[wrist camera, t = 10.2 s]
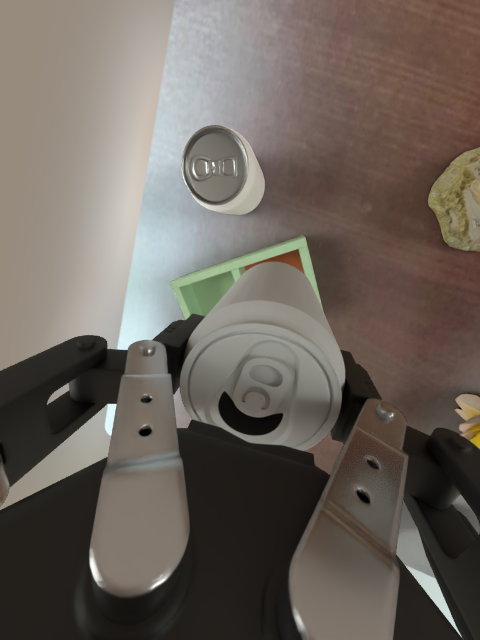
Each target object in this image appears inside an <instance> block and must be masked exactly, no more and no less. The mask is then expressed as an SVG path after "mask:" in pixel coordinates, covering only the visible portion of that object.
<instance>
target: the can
mask: <svg viewBox="0 0 480 640" xmlns="http://www.w3.org/2000/svg"><path fill="white" fill-rule="evenodd" d="M182 174H183V178H184V181H185V184H186V186H187V188H188V189H189V191H190V193H191V194H192V196H193V197H194V199H195V200H196V201H197V202H198V203H200V204H201V205H202V206H204V207H205V208H207V209H210V210H213V211H216V212H222V213H227V214H233V215H243V214H247V213H249V212H251V211H252V210H254V209H255V208H256V207H257V206H258V205H259V203H260V202H261V200H262V197H263V195H264V190H265V180H264V176H263V173H262V170H261V168H260V165H259V163H258V161H257V159H256V157H255V154H254V152H253V150H252V148H251V147H250V145H249V143H248V142H247V140H246V139H245V138H244V137H243V136H242V135H241V134H240V133H238V132H237V131H235V130H233V129H231V128H228V127H223V126H218V125H212V126H207V127H204V128H202V129H200V130H199V131H197V132H196V133H195V134H194V135H193V136H192V137H191V138H190V139H189V141H188V143H187V144H186V147H185V149H184V152H183V156H182Z"/></svg>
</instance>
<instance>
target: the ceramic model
mask: <svg viewBox="0 0 480 640" xmlns="http://www.w3.org/2000/svg"><path fill="white" fill-rule="evenodd" d="M428 204H429V207H430V208H431V209H432V210H433V211H434V212H435V214H436V217H437V219H438V221H439V223H440V227H441V231H442V235H443V239H444V241H445V242H446V243H447V244H448V245H449V246H450V247H453V248H457V249H461V250H464V251H479V252H480V147H479V148H476V149H473V150H470V151H467V152H464V153H463V154H461V155H460V156H458V157H457V158H456V159H455V160H454V161H452V162H451V164H450V165H449V167H448V168H446V170H445V171H444V173H443V174H442V175H441V176H440V177H439V178H438V179H437V181H436V182H435V183H434V185H433V186H432V188H431V191H430V194H429V197H428Z"/></svg>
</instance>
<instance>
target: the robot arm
mask: <svg viewBox="0 0 480 640" xmlns="http://www.w3.org/2000/svg"><path fill="white" fill-rule="evenodd" d="M205 317H206V316H202V315H198V314H194V313H192V314H191V315H190V316H189V317H188V318H187V319H186V320H185V321H184V320H178V321H175V322H172V323H171V324H170V325H169V326H168V327H167V328H165V329H164V331H162V332H161V333H160V334H159V335H157V336H156V337H155V338H154V339H153V340H142V341H137V342H135V343H133V344H131V345H130V346H129V348H128V350H115V349H107V341H106V340H105V339H104V338H102V337H100V336H94V335H84V336H78V337H75V338H72V339H70V340H68V341H65V342H63V343H61V344H59V345H57V346H54V347H52V348H50V349H48V350H45V351H43V352H41V353H39V354H37V355H35V356H33V357H30V358H28V359H26V360H24V361H21V362H19V363H17V364H15V365H13V366H10V367H8V368H6V369H4V370H2V371H0V507H1V505H2V504H3V503H4V501H5V500H6V498H7V496H8V493H9V489H10V487H11V486H12V485H13V484H15V483H16V482H17V481H18V480H19V479H20V478H22V477H23V476H24V475H25V474H26V473H27V472H29V471H30V470H31V469H32V468H33V467H34V466H36V465H37V464H38V463H39V462H40V461H42V460H43V459H44V458H45V457H46V456H47V455H48V454H50V453H51V452H52V451H53V450H54V449H56V448H57V447H58V446H59V445H60V444H61V443H63V442H64V441H65V440H66V439H67V438H68V437H69V436H71V435H72V434H73V433H74V432H75V431H77V430H78V429H79V428H80V427H81V426H82V425H84V424H85V423H86V422H87V421H88V420H89V419H91V418H92V417H93V416H94V415H95V414H96V413H98V412H99V411H100V410H101V409H102V408H103V407H105V405H106V404H117V406H116V412H115V418H114V423H113V429H112V435H111V442H110V447H109V453H108V457H106V458H104V459H102V460H101V461H98V462H96V463H94V464H92V465H90V466H88V467H87V468H84V469H82V470H80V471H78V472H76V473H74V474H72V475H70V476H68V477H66V478H64V479H62V480H60V481H58V482H56V483H54V484H52V485H50V486H48V487H46V488H44V489H42V490H40V491H38V492H36V493H34V494H32V495H30V496H28V497H26V498H24V499H22V500H20V501H18V502H16V503H14V504H12V505H10V506H8V507H6V508H4V509H2V510H0V640H463V639H462V637H461V636H460V635H459V634H458V632H457V631H456V630H455V629H454V627H453V626H452V625H451V623H450V622H449V621H448V620H447V618H446V617H445V616H444V615H443V613H442V612H441V611H440V610H439V608H438V607H437V606H436V605H435V603H434V602H433V601H432V599H431V598H430V597H429V596H428V595H427V593H426V592H425V590H424V589H423V588H422V587H421V585H420V584H419V583H418V582H417V580H416V579H415V578H414V576H413V575H412V574H411V573H410V571H409V570H408V569H407V568H406V566H405V565H404V564H403V562H402V561H401V560H400V559H399V557H398V556H397V555H396V549H397V542H398V534H399V526H400V519H401V511H402V504H403V500H404V502H405V504H406V506H407V508H408V510H409V512H410V514H411V516H412V518H413V520H414V522H415V524H416V526H417V528H418V530H419V532H420V534H421V536H422V538H423V540H424V542H425V544H426V546H427V548H428V550H429V551H430V553H431V555H432V557H433V559H434V561H435V563H436V565H437V567H438V569H439V571H440V573H441V575H442V577H443V579H444V581H445V583H446V585H447V587H448V589H449V591H450V593H451V595H452V597H453V599H454V601H455V603H456V605H457V607H458V609H459V611H460V613H461V615H462V617H463V618H464V620H465V622H466V624H467V626H468V628H469V630H470V632H471V634H472V636H473V638H474V640H480V534H479V536H478V537H477V538H476V539H475V538H474V536H473V535H472V533H471V532H470V530H469V529H468V527H467V526H466V524H465V523H464V521H463V520H462V518H461V517H460V515H459V514H458V512H457V511H456V509H455V508H454V506H453V505H452V503H453V502H454V501H455V499H456V498H457V497H458V496H459V495H460V494H461V495H462V496H463V498H464V499H465V500H466V502H467V503H468V505H469V506H470V507H471V509H472V510H473V511H474V513H475V514H476V516H477V518H478V520H479V524H480V449H479V448H478V447H477V446H476V445H474V444H473V443H472V442H471V441H469V440H468V439H466V438H465V437H463V436H462V435H460V434H458V433H456V432H454V431H451V430H448V429H445V428H436V429H435V430H434V431H433V433H432V434H431V436H428V435H426V434H424V433H422V432H420V431H418V430H415V429H413V428H411V427H409V426H407V420H406V418H405V416H404V415H403V414H402V412H401V411H399V410H398V409H397V408H396V407H394V406H393V405H391V404H389V403H387V402H385V401H383V400H382V398H381V397H380V395H379V393H378V391H377V389H376V387H375V386H374V384H373V382H372V380H370V379H371V378H370V376H369V375H368V373H367V371H366V370H365V369H364V368H362V367H361V366H360V365H359V364H356V363H355V361H354V359H353V357H352V355H351V353H350V352H347V351H343V350H340V352H341V354H342V357H343V361H344V366H345V385H344V390H343V393H342V401H341V409H340V413H339V416H338V419H337V421H336V423H335V425H334V427H333V428H332V430H331V431H330V432H331V436H332V439H333V440H337V441H340V442H343V444H344V446H343V448H342V450H341V452H340V454H339V456H338V458H337V460H336V462H335V464H334V466H333V468H332V470H331V473H330V475H329V474H327V473H326V472H325V471H323V470H321V469H320V468H318V467H316V466H315V464H314V455H313V454H312V453H308V452H305V451H301V450H298V449H294V448H291V447H287V446H284V445H272V444H256V443H249V442H247V441H245V440H243V439H241V438H240V437H238V436H236V435H234V434H232V433H230V432H228V431H226V430H225V429H223V428H221V427H218V426H214V425H211V424H207V423H204V422H200V421H197V420H193V419H192V420H191V422H190V424H189V426H188V428H177V426H176V417H175V408H174V399H173V394H175V392H176V391H177V389H178V388H179V386H180V375H181V370H182V367H183V359H184V352H185V348H186V345H187V342H188V340H189V338H190V336H191V334H192V333H193V331H194V330H195V328H196V327H197V326H198V325H199V324H200V322H201V321H202V320H203V319H204V318H205ZM67 383H69V391H68V392H66V393H65V394H63V395H62V396H60V397H59V398H57V399H56V400H54V401H53V402H51V403H49V404H48V405H47V401H48V399H49V397H50V396H51V395H52V393H54V392H55V391H56V390H58V389H59V388H61V387H62V386H64V385H66V384H67Z"/></svg>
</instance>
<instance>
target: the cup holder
mask: <svg viewBox="0 0 480 640" xmlns="http://www.w3.org/2000/svg"><path fill="white" fill-rule="evenodd" d="M265 262H281V263H286V264H289V265H291V266H293V267H295V268H297V269H298V270H300V271H301V272H302V273H303V274H304V275H305V276H306V277H307V278H308V280H309V281H310V283H311V285H312V287H313V289H314V291H315V294H316V296H317V298H318V301H319V303H320V305H321V308H322V304H321V300H320V295H319V291H318V287H317V283H316V279H315V275H314V271H313V267H312V262H311V258H310V254H309V250H308V246H307V242H306V238H305V237H304V236H303V235H302V236H299V237H296V238H293V239H290V240H287V241H284V242H281V243H278V244H275V245H272V246H269V247H266V248H263V249H260V250H257V251H254V252H252V253H249V254H246V255H243V256H240V257H237V258H234V259H231V260H228V261H225V262H222V263H219V264H216V265H213V266H210V267H207V268H204V269H201V270H198V271H195V272H192V273H189V274H186V275H183V276H181V277H179V278H177V279H175V280H173V281H171V282H170V284H171V287H172V289H173V291H174V294H175V296H176V298H177V301H178V303H179V305H180V308H181V310H182V312H183V315H184V317H185V319H187V318H188V317H189V316H190V315H191V314H192V313H194V314H198V315H202V316H207V314H208V313H209V312H210V311H211V310H212V309H213V308H214V306H215V305H216V304H217V303H218V302H219V301H220V300H221V298H222V297H223V296H224V295H225V294H226V293H227V292H228V290H229V289H230V288H231V287H232V286H233V285H234V284H235V282H236V281H237V280H238V279H239V278H240V277H241V276H242V274H244V273H245V272H246V271H247V270H248V269H250V268H252V267H253V266H256V265H258V264H261V263H265ZM322 310H323V308H322Z"/></svg>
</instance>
